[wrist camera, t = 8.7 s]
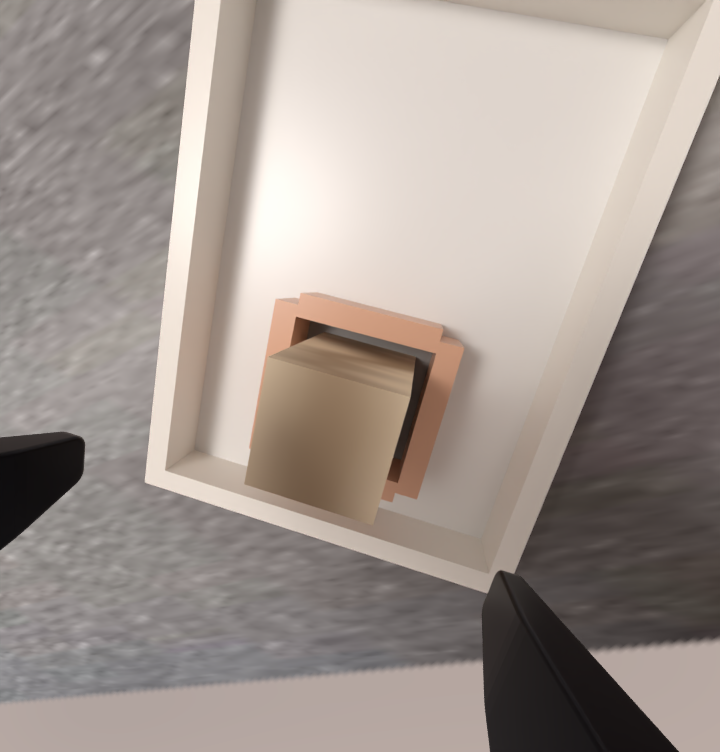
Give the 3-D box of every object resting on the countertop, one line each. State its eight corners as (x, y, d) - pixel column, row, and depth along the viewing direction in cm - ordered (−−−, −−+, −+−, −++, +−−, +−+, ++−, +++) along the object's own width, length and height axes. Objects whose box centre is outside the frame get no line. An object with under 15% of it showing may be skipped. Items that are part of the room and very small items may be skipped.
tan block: (416, 356, 18) (410, 397, 11) (391, 442, 19) (372, 525, 12) (324, 331, 18) (267, 356, 12) (305, 417, 20) (244, 484, 13)
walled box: (700, 20, 14) (770, -48, 11) (492, 554, 20) (503, 598, 17) (247, -53, 16) (208, -128, 13) (181, 457, 22) (144, 482, 19)
